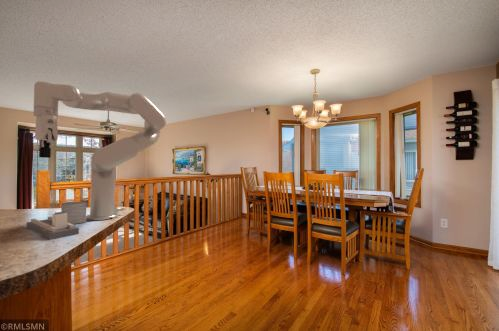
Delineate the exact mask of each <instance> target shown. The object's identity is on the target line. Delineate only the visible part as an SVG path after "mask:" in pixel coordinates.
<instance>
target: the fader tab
mask: <svg viewBox="0 0 499 331" xmlns="http://www.w3.org/2000/svg"><path fill="white" fill-rule="evenodd" d="M51 217H52V226H53V227H56V228H57V230H58V229H64V228H67V213H65V211H64V212H61V211H59V212H56V211H55V212H54V213H52V216H51Z"/></svg>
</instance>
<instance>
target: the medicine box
mask: <svg viewBox="0 0 499 331" xmlns="http://www.w3.org/2000/svg"><path fill="white" fill-rule="evenodd" d="M60 206H61V207H60V208H61V211H60V212H64V211H65V213H67V222H69V223H71V224H73V225H77V224H78V225H79V224H85V223H87V219H86V216H87V202H86V201H70V202H62V203H61V205H60Z"/></svg>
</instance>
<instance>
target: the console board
mask: <svg viewBox="0 0 499 331" xmlns="http://www.w3.org/2000/svg"><path fill="white" fill-rule="evenodd" d="M25 228H26V229H28V230H30V231H33V233H36V234H38V235H40V236H42V237H44V238H46V239H48V240H54V239H55V240H56V239H60V238H64V237H71V236H74V235H79V234H80V228H79V227H77V226H75V224H71V223H69V222H67V228H64V229H58V230H57V228H56V227H53V226H52V216H47V218H46V219H41V220H38V219H36V218H31V219H30V221H27V222H26V225H25Z"/></svg>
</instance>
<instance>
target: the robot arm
mask: <svg viewBox="0 0 499 331" xmlns="http://www.w3.org/2000/svg"><path fill="white" fill-rule="evenodd" d="M59 101H60V102H61V103H63V105H65V107H69V108H73V109H79V110H89V111H101V112H102V111H104V112H105V111H108V112H117V113H125V114H130V115H131V114H133V115H139V116H140V117H141V118H142V119H143V120H144V121H143V122H144V127H143V129H142V130H141V131H139V132H137V133H135V134H133V135H131V136H129V137H127V136H125V137H123V138H120V139H118V140H116V141H114V142H112V143H110V144H108V145H105V146H103V147H100V148H98V149H97V150H95V151H94V152H93V154H92V155H91V159H90V160H91V161H90V162H91V163H90V166H91V167H90V168H91V170H90V171H91V172H90V200H89V201H90V205H89V207H90V209H89V211H90V212H89V214H86V221H89V220H90V221H105V220H111V219H110V218H112V219H115V218H118V217H119V212H123V211H126V207H125V206H120V207H119V206H115V204H116V167H118V166H120V165H122V164H124V163H126V162H128V161H129V160H131V159H133V158H135V157H136V156H137V155H138V154H139V153H140V152H142V151H144V150H145V149H148V148H149V147H151V146H152V145H155V143H157V142H158V140H159V139H160V135H161V130H162V129H164V128H165V126H166V125H167V124H166V123H167V120H166V117H165V115H164V113H162V112H161V111H160V110H159V108H157V107H156V105H155V104H153V102H152V101H151V100H150V99H149V98H147V96H145V95H143V94H141V93H138V92H136V93H133V94H131V95H127V94H121V93H116V92H112V91H111V92H110V91H106V92H102V93H96V94H95V93H94V94H92V93H83V92H80V91H79V89H78V88H77V87H76V86H74V85H71V84H61V83H51V82H48V81H36V82H35V83H34V86H33V116H35V117H36V119H35V127H34V130H35V131H34V133H35V134H34V137H35V140H37V141H38V145H39V147H38V148H39V149H38V151H39V152H38V157H39V158H47V159H48V158H51V155H52V152H51V149H52V143H53V142H55V141H57V140H58V137H59V134H58V133H59V132H58V117H59V115H58V114H59Z"/></svg>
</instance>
